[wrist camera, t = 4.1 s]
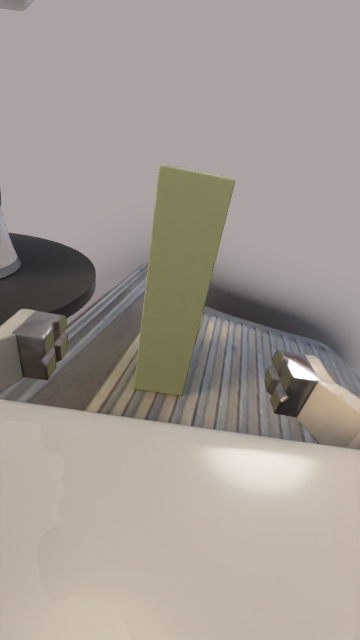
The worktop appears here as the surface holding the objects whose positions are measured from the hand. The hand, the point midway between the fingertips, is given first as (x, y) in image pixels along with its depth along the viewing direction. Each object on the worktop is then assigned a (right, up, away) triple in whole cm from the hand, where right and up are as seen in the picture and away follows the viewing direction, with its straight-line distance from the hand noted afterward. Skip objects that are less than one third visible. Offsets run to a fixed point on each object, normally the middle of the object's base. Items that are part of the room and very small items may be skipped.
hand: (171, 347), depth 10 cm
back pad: (-1, -3, +14) cm, 14 cm away
